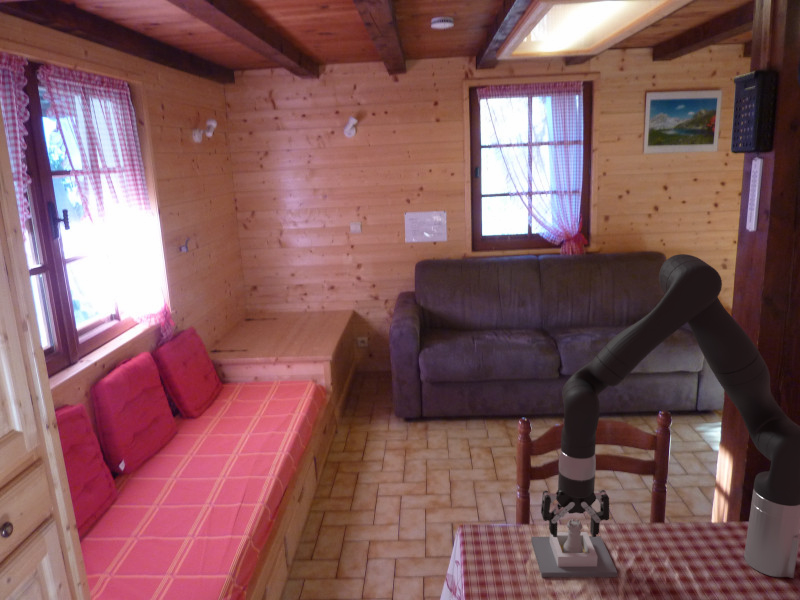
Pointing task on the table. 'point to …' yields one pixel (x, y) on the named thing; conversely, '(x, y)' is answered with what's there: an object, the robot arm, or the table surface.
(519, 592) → the table surface
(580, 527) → the rook chess piece
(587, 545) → the square frame on plate
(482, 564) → the table surface
